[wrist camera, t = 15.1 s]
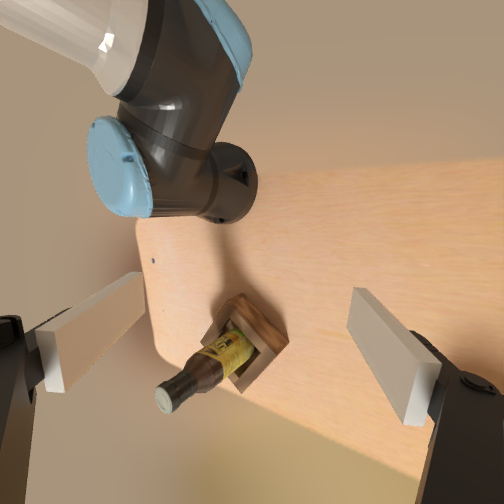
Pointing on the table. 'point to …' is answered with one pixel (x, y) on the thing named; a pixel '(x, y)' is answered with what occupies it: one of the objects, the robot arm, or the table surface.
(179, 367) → the table surface
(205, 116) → the robot arm
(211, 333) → the crate
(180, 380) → the sauce bottle
